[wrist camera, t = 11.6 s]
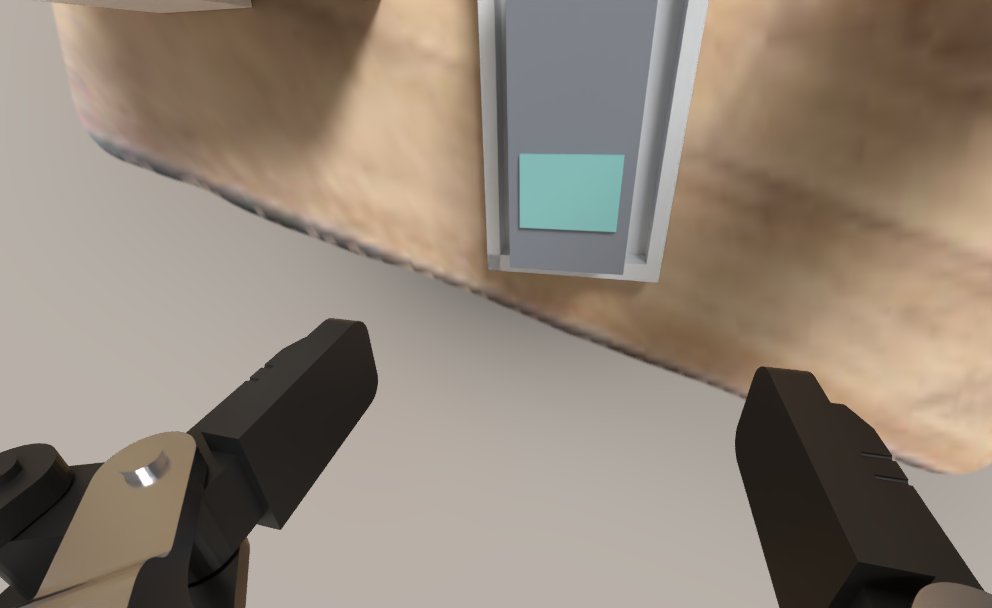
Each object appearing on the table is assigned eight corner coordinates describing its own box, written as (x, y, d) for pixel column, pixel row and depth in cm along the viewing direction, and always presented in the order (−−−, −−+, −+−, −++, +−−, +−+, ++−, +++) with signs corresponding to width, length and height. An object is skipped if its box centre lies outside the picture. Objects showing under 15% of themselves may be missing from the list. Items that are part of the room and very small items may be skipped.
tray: (730, -172, 16) (743, -199, 14) (654, 267, 25) (658, 282, 23) (484, -140, 18) (471, -160, 16) (495, 256, 27) (487, 269, 25)
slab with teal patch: (656, -80, 17) (676, -141, 12) (620, 228, 24) (623, 276, 18) (533, -68, 18) (502, -119, 13) (530, 224, 25) (508, 269, 20)
